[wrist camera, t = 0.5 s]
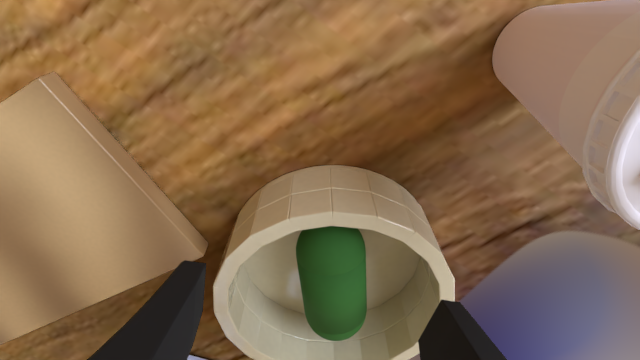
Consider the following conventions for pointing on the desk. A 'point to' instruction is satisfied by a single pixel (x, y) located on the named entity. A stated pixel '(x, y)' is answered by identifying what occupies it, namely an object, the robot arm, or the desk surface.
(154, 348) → the robot arm
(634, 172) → the smoothie
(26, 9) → the desk surface
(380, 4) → the desk surface
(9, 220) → the cutting board
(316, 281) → the cucumber
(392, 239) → the pot
